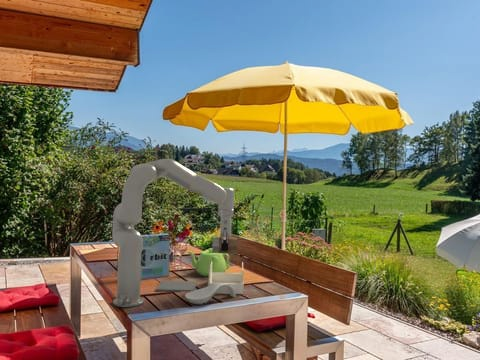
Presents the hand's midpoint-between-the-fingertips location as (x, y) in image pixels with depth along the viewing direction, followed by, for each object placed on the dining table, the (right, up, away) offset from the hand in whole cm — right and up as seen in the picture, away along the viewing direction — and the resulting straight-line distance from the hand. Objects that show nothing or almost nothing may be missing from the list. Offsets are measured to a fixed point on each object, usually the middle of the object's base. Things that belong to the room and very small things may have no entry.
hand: (224, 249), depth 198 cm
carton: (+1, -19, 0) cm, 19 cm away
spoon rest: (-6, -20, -20) cm, 28 cm away
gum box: (-40, -18, +18) cm, 48 cm away
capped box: (0, -1, 0) cm, 1 cm away
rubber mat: (-23, -19, 0) cm, 30 cm away
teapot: (-11, -19, +28) cm, 35 cm away
